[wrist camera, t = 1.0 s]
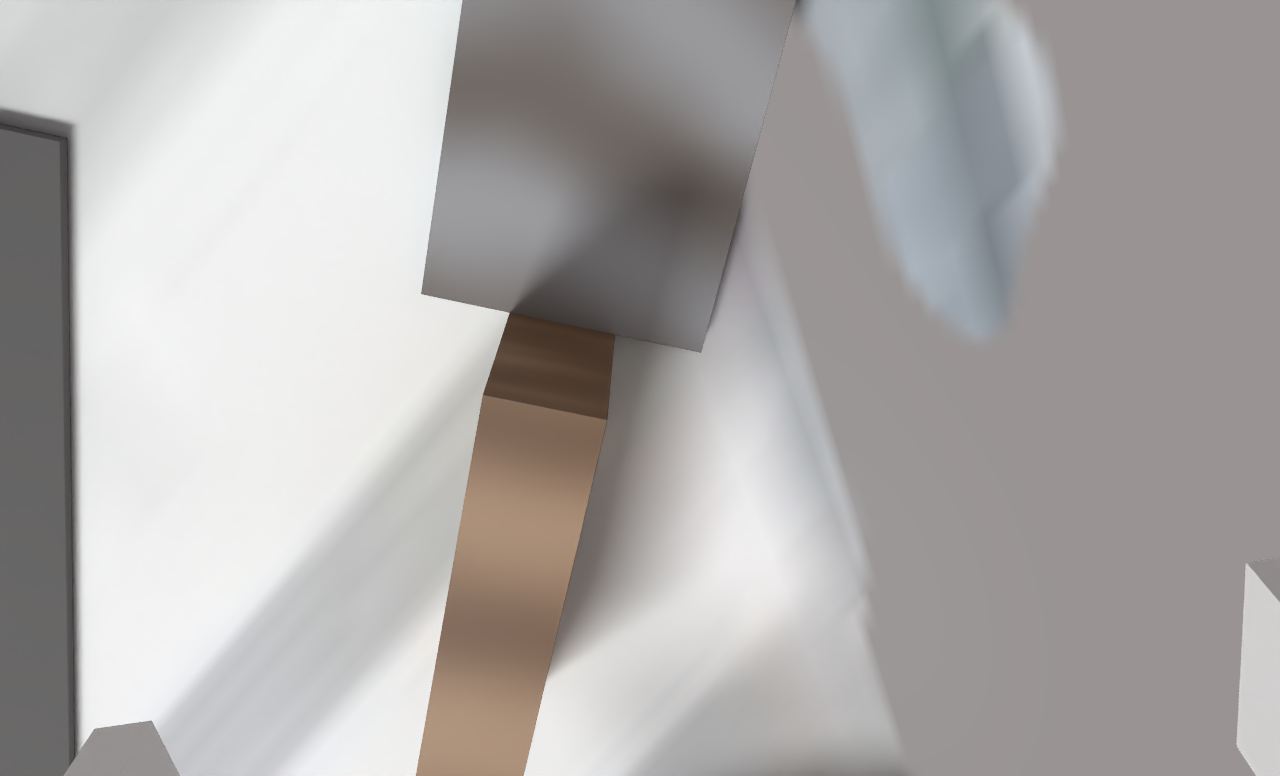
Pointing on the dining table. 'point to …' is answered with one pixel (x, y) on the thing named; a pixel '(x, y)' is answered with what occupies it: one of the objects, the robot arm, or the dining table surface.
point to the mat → (35, 458)
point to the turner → (571, 292)
